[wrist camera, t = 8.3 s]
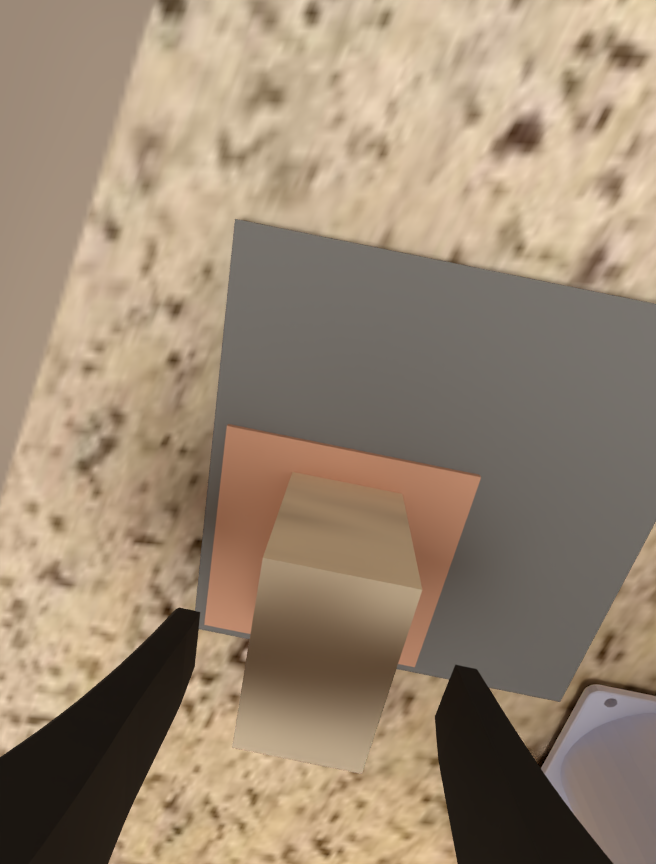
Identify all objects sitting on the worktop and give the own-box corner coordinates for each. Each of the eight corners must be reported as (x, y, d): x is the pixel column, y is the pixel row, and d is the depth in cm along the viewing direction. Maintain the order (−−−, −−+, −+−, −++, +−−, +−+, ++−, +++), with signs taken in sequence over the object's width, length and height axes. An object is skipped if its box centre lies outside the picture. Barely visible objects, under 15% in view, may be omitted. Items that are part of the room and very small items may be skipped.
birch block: (360, 641, 18) (361, 773, 13) (266, 622, 18) (231, 748, 13) (402, 493, 15) (422, 589, 10) (292, 471, 15) (262, 557, 10)
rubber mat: (748, 323, 13) (766, 325, 12) (556, 693, 19) (562, 706, 18) (238, 221, 13) (233, 218, 12) (196, 620, 19) (191, 631, 18)
